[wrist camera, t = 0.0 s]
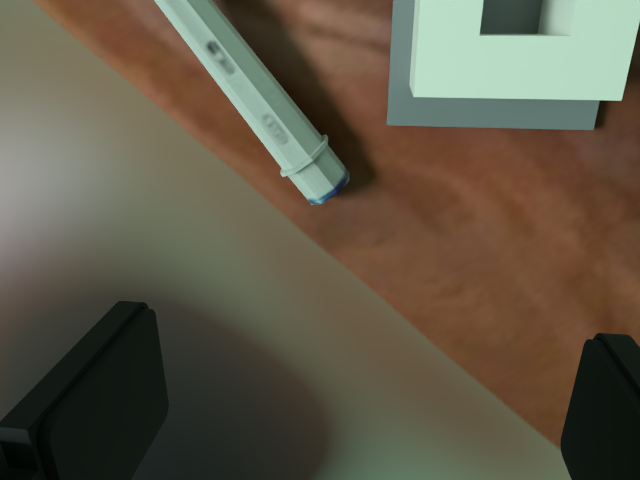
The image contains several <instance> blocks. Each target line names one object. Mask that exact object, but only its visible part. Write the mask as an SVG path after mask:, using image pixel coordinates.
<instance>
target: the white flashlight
mask: <svg viewBox="0 0 640 480" xmlns="http://www.w3.org/2000/svg"><path fill="white" fill-rule="evenodd" d="M154 1H155V2H156V3H157V5H158V6H159V7H160V8H161V10H162V11H163V12H164V14H165V15H166V16H167V18H168V19H169V20H170V22H171V23H172V24H173V26H174V27H175V28H176V30H177V31H178V32H179V33H180V35H181V36H182V37H183V39H184V40H185V41H186V43H187V44H188V45H189V47H190V48H191V49H192V51H193V52H194V53H195V55H196V56H197V57H198V59H199V60H200V61H201V62H202V64H203V65H204V66H205V68H206V69H207V70H208V72H209V73H210V74H211V76H212V77H213V78H214V80H215V81H216V82H217V84H218V85H219V86H220V87H221V89H222V90H223V91H224V93H225V94H226V95H227V97H228V98H229V99H230V101H231V102H232V103H233V105H234V106H235V107H236V109H237V110H238V111H239V113H240V114H241V115H242V116H243V118H244V119H245V120H246V122H247V123H248V124H249V126H250V127H251V128H252V130H253V131H254V132H255V134H256V135H257V136H258V138H259V139H260V140H261V141H262V143H263V144H264V145H265V147H266V148H267V149H268V151H269V152H270V153H271V155H272V156H273V157H274V159H275V160H276V161H277V163H278V164H279V165H280V166H281V168H282V169H281V172H280V174H281V175H282V176H283V177H284V176H288V177H289V178H290V179H291V180H292V181H293V183H294V184H295V185H296V186H297V187H298V189H299V190H300V191H301V192H302V193H303V195H304V196H305V197H306V198H307V200H308V201H309V202H310V203H311V204H312V205H316V204H323V203H324V202H326V201H327V200H329V199H330V198H332V197H333V196H335V195H336V194H338V193H339V192H340V191H341V189H342V188H343V187H344V186H345V185H346V184H347V182H348V181H349V172H348V170H347V169H346V168H345V166H344V165H343V164H342V162H341V161H340V160H339V159H338V157H337V156H336V155H335V153H334V152H333V151H332V149H331V148H330V147H329V145H328V137H327V135H326V134H325V135H322V136H321V135H320V134H319V133H318V131H317V130H316V129H315V128H314V126H313V125H312V124H311V123H310V121H309V120H308V119H307V118H306V116H305V115H304V114H303V113H302V111H301V110H300V109H299V108H298V106H297V105H296V104H295V103H294V101H293V100H292V99H291V98H290V96H289V95H288V94H287V93H286V92H285V90H284V89H283V88H282V87H281V85H280V84H279V83H278V82H277V80H276V79H275V78H274V77H273V75H272V74H271V73H270V72H269V70H268V69H267V68H266V67H265V65H264V64H263V63H262V62H261V60H260V59H259V58H258V57H257V55H256V54H255V53H254V52H253V50H252V49H251V48H250V47H249V45H248V44H247V43H246V42H245V40H244V39H243V38H242V37H241V35H240V34H239V33H238V32H237V31H236V29H235V28H234V27H233V26H232V24H231V23H230V22H229V21H228V19H227V18H226V17H225V16H224V14H223V13H222V12H221V11H220V9H219V8H218V7H217V6H216V4H215V3H214V2H213V1H212V0H154Z"/></svg>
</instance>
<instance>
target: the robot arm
mask: <svg viewBox="0 0 640 480" xmlns="http://www.w3.org/2000/svg"><path fill="white" fill-rule="evenodd" d="M168 406H169V403H168V396H167V389H166V382H165V375H164V369H163V361H162V355H161V349H160V341H159V334H158V328H157V321H156V315H155V312H154V310H152V309H149V308H148V306H147V304H146V303H144V302H131V301H119V302H117V303H116V304H115V306H113V307H112V308H111V309H110V310H109V311H108V312H107V313H106V314H105V315H104V316H103V317H102V318H101V320H100V321H98V322H97V323H96V325H95V326H94V327H93V328H92V329H91V330H90V331H89V332H88V333H87V334H86V335H85V336H84V337H83V338H82V339H81V340H80V341H79V342H78V343H77V344H76V345H75V346H74V347H73V348H72V349H71V350H70V351H69V352H68V353H67V354H66V355H65V356H64V357H63V358H62V359H61V360H60V361H59V362H58V363H57V364H56V365H55V366H54V367H53V368H52V369H51V371H50V372H48V373H47V374H46V376H44V378H43V379H42V380H41V381H40V382H39V383H38V384H37V385H36V386H35V387H34V388H33V389H32V390H31V391H30V392H29V393H28V394H27V395H26V396H25V397H24V398H23V399H22V400H21V401H20V402H19V403H18V404H17V405H16V406H15V407H14V408H13V409H12V410H11V411H10V412H9V413H8V414H7V415H6V416H5V417H4V418H3V419H2V420H1V421H0V480H131V479H132V477H133V475H134V474H135V472H136V470H137V468H138V466H139V465H140V463H141V461H142V459H143V458H144V456H145V454H146V452H147V451H148V449H149V447H150V445H151V444H152V442H153V440H154V438H155V437H156V435H157V433H158V431H159V430H160V428H161V426H162V424H163V423H164V421H165V419H166V416H167V413H168ZM561 452H562V456H563V459H564V462H565V464H566V466H567V469H568V472H569V474H570V477H571V479H572V480H640V347H639V346H638V345H637V344H636V342H635V341H634V340H633V338H632V337H630V336H629V335H622V334H607V333H598V334H596V335H595V337H594V339H593V340H592V339H588V340H586V342H585V344H584V347H583V351H582V355H581V359H580V363H579V367H578V371H577V375H576V379H575V383H574V387H573V391H572V396H571V400H570V404H569V408H568V412H567V416H566V420H565V424H564V428H563V432H562V436H561Z"/></svg>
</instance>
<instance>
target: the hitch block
mask: <svg viewBox="0 0 640 480" xmlns="http://www.w3.org/2000/svg"><path fill="white" fill-rule="evenodd" d="M639 22H640V0H393V14H392V33H391V52H390V72H389V91H388V110H387V125H397V126H439V127H482V128H525V129H567V130H594V125H595V120H596V116H597V111H598V106H599V102H600V100H615V101H622V97H623V92H624V88H625V84H626V79H627V75H628V70H629V66H630V62H631V57H632V53H633V49H634V44H635V40H636V35H637V31H638V27H639Z"/></svg>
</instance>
